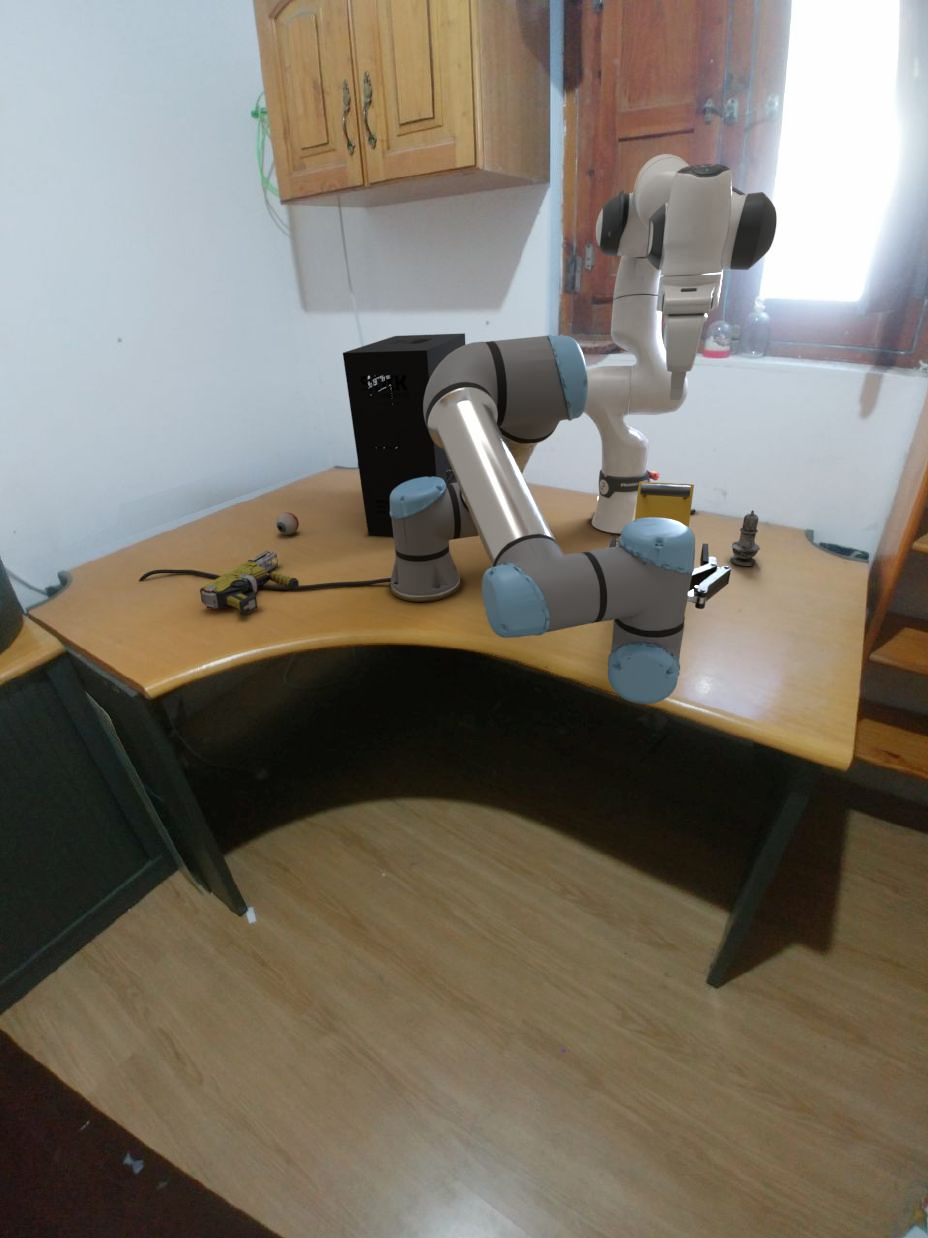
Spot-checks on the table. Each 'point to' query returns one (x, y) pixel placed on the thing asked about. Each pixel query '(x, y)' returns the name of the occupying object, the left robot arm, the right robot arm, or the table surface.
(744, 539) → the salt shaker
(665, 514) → the lid
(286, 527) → the eyeball
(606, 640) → the table surface
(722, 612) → the table surface
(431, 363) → the cardboard box
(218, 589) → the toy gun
